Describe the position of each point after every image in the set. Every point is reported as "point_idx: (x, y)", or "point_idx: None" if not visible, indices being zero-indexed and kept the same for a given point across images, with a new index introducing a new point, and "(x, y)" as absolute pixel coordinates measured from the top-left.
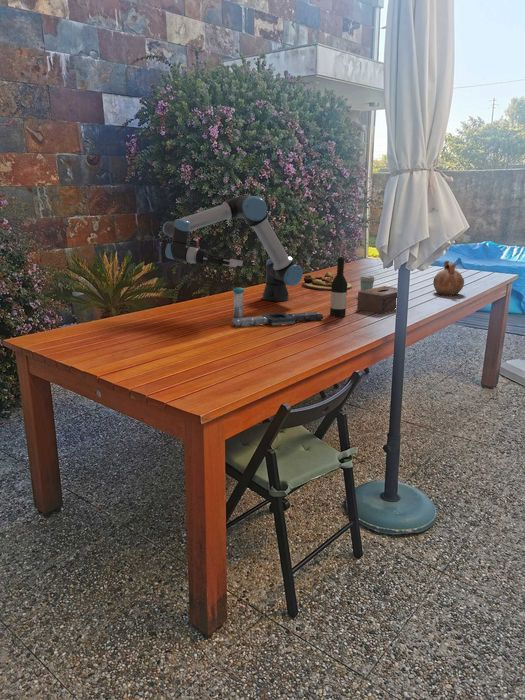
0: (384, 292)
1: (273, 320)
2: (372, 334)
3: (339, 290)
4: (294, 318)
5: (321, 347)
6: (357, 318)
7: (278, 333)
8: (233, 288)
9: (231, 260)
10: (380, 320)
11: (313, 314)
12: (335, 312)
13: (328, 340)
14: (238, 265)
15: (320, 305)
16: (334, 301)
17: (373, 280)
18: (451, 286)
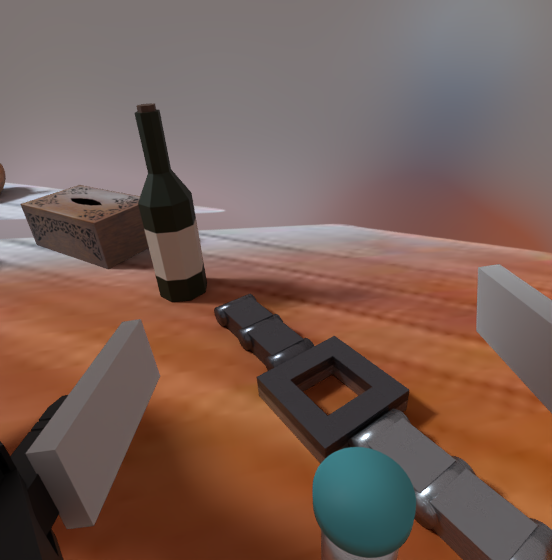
0: (110, 199)
1: (403, 388)
2: (352, 237)
3: (193, 213)
4: (336, 337)
5: (534, 279)
6: (211, 261)
7: (490, 373)
8: (387, 534)
9: (82, 446)
10: (223, 237)
11: (260, 306)
12: (203, 279)
13: (460, 277)
14: (147, 401)
15: (33, 333)
16: (195, 252)
17: None
18: (1, 175)
